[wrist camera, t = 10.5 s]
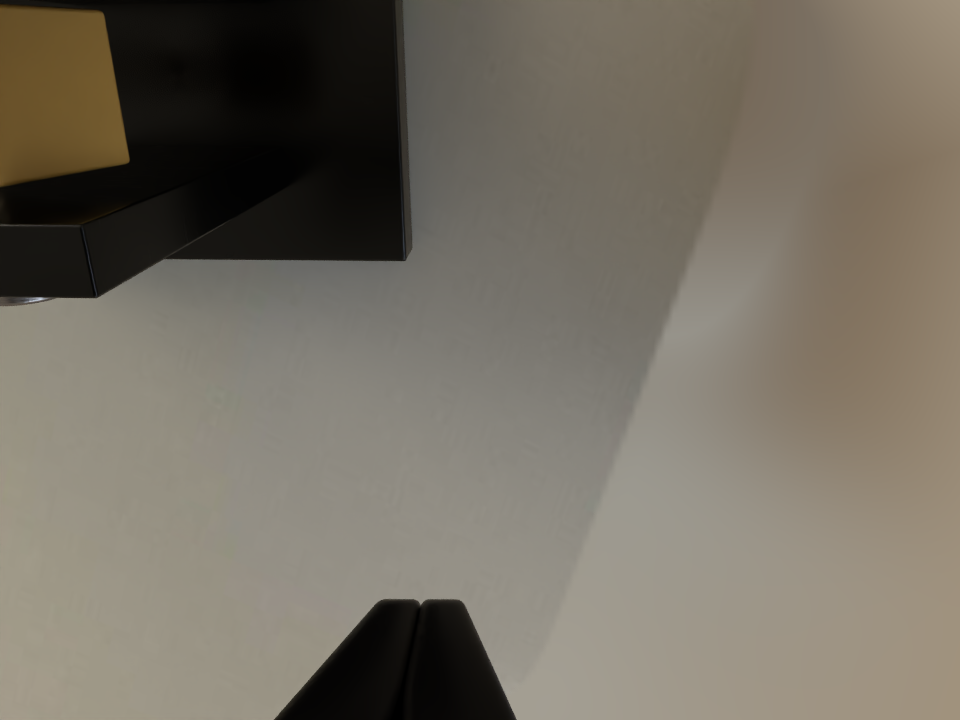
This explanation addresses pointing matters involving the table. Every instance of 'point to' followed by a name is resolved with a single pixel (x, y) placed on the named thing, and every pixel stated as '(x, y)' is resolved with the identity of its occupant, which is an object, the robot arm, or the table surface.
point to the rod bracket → (227, 146)
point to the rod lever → (57, 94)
